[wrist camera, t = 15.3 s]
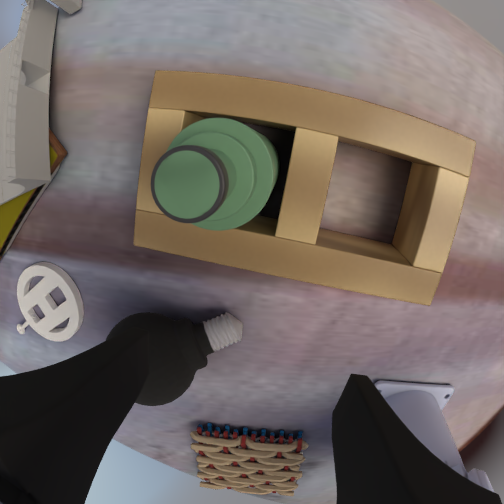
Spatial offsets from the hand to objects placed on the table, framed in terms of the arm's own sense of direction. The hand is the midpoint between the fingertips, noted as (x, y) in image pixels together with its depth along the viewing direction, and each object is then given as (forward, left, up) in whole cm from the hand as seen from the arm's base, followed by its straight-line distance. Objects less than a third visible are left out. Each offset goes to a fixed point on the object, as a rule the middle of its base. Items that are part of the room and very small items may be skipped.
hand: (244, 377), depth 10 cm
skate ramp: (+9, +21, -9) cm, 24 cm away
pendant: (-8, +19, -9) cm, 22 cm away
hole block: (+6, -1, -10) cm, 12 cm away
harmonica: (+1, +21, -8) cm, 22 cm away
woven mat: (-20, -2, -8) cm, 22 cm away
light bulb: (-6, +6, -11) cm, 13 cm away
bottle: (+6, +3, -10) cm, 12 cm away
